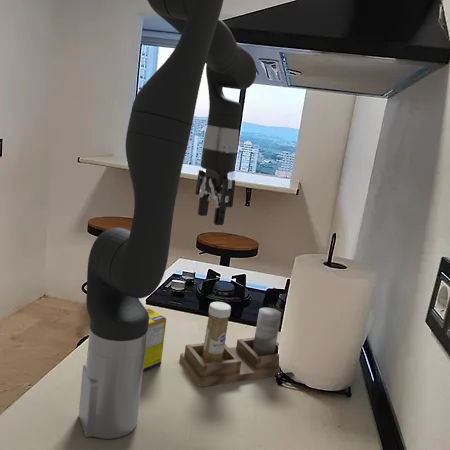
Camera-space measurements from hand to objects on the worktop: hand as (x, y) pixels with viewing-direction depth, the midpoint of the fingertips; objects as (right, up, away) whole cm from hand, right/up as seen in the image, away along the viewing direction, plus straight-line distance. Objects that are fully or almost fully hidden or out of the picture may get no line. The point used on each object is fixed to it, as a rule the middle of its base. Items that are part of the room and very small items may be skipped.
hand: (210, 219), depth 105 cm
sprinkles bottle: (0, -31, -6) cm, 32 cm away
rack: (+6, -33, -2) cm, 33 cm away
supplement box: (-14, -31, -7) cm, 35 cm away
